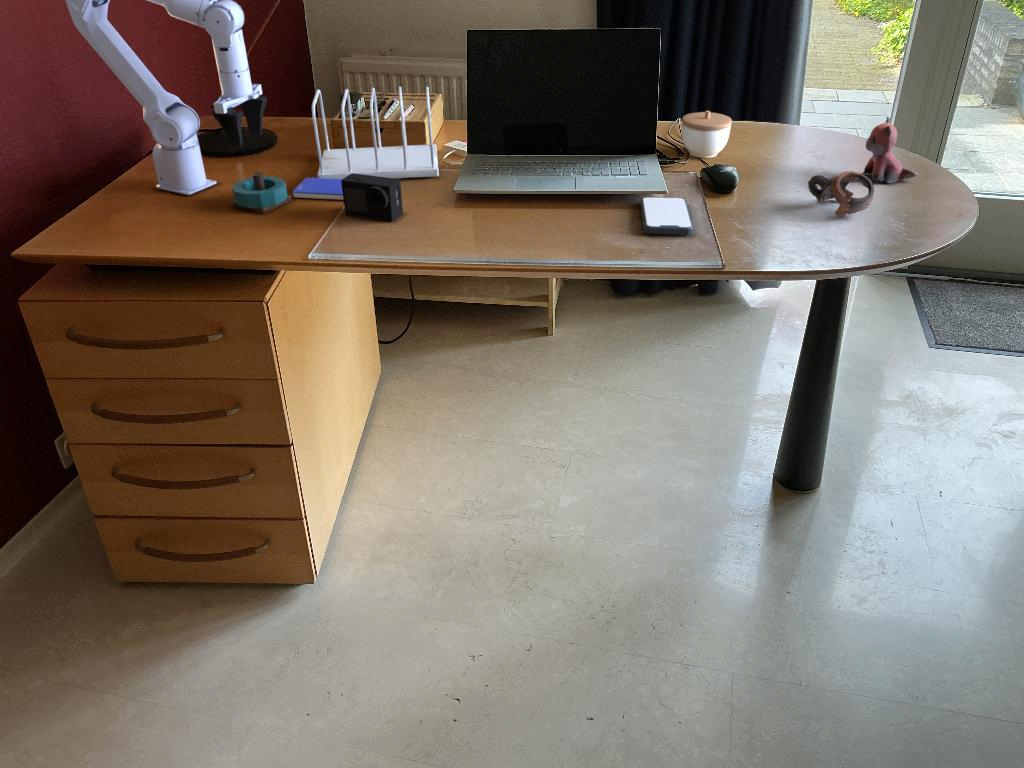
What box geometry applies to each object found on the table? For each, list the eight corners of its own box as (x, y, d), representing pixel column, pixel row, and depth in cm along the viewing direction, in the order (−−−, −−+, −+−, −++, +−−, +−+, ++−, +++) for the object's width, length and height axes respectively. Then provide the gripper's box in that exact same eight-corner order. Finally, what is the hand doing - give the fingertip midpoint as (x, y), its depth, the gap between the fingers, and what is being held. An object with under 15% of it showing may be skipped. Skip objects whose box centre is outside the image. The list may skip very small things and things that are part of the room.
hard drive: (292, 190, 170) (352, 193, 169) (306, 176, 177) (364, 179, 175) (293, 198, 171) (353, 201, 170) (308, 183, 178) (365, 186, 176)
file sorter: (436, 152, 194) (432, 81, 186) (439, 178, 180) (434, 103, 171) (324, 157, 192) (315, 85, 184) (318, 184, 178) (307, 107, 169)
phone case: (639, 204, 167) (644, 235, 154) (640, 196, 167) (644, 227, 153) (685, 205, 167) (693, 236, 153) (686, 197, 166) (694, 228, 152)
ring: (224, 202, 167) (221, 188, 165) (259, 186, 174) (257, 173, 173) (262, 211, 163) (260, 197, 161) (297, 194, 170) (295, 181, 169)
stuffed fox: (920, 187, 173) (935, 128, 166) (862, 185, 175) (875, 126, 168) (911, 175, 179) (926, 117, 173) (855, 172, 181) (868, 115, 174)
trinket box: (669, 153, 192) (672, 111, 187) (698, 143, 198) (702, 101, 193) (708, 164, 186) (713, 121, 181) (737, 153, 192) (742, 111, 187)
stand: (232, 206, 168) (227, 177, 164) (261, 193, 174) (256, 164, 170) (263, 213, 164) (258, 183, 161) (291, 200, 170) (287, 170, 167)
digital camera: (341, 217, 163) (336, 181, 159) (355, 207, 167) (351, 172, 163) (389, 224, 160) (386, 188, 156) (403, 214, 164) (400, 178, 160)
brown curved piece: (863, 203, 167) (883, 175, 160) (854, 239, 163) (873, 212, 156) (804, 182, 169) (821, 153, 161) (793, 217, 165) (810, 189, 157)
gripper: (232, 80, 157) (246, 153, 164) (270, 61, 168) (282, 131, 176) (198, 78, 158) (213, 150, 166) (238, 60, 170) (251, 129, 177)
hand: (246, 140), depth 171 cm, fingers open, 7 cm apart
